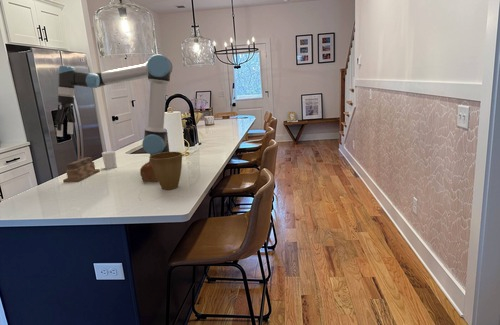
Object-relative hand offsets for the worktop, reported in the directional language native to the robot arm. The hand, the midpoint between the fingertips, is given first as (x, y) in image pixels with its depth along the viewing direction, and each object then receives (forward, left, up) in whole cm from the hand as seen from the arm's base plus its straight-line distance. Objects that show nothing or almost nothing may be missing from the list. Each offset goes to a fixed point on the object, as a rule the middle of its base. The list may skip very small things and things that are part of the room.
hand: (65, 135), depth 181 cm
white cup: (+4, -27, -25) cm, 37 cm away
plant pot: (-67, -11, -25) cm, 72 cm away
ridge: (0, -6, -25) cm, 26 cm away
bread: (-46, -22, -25) cm, 57 cm away
